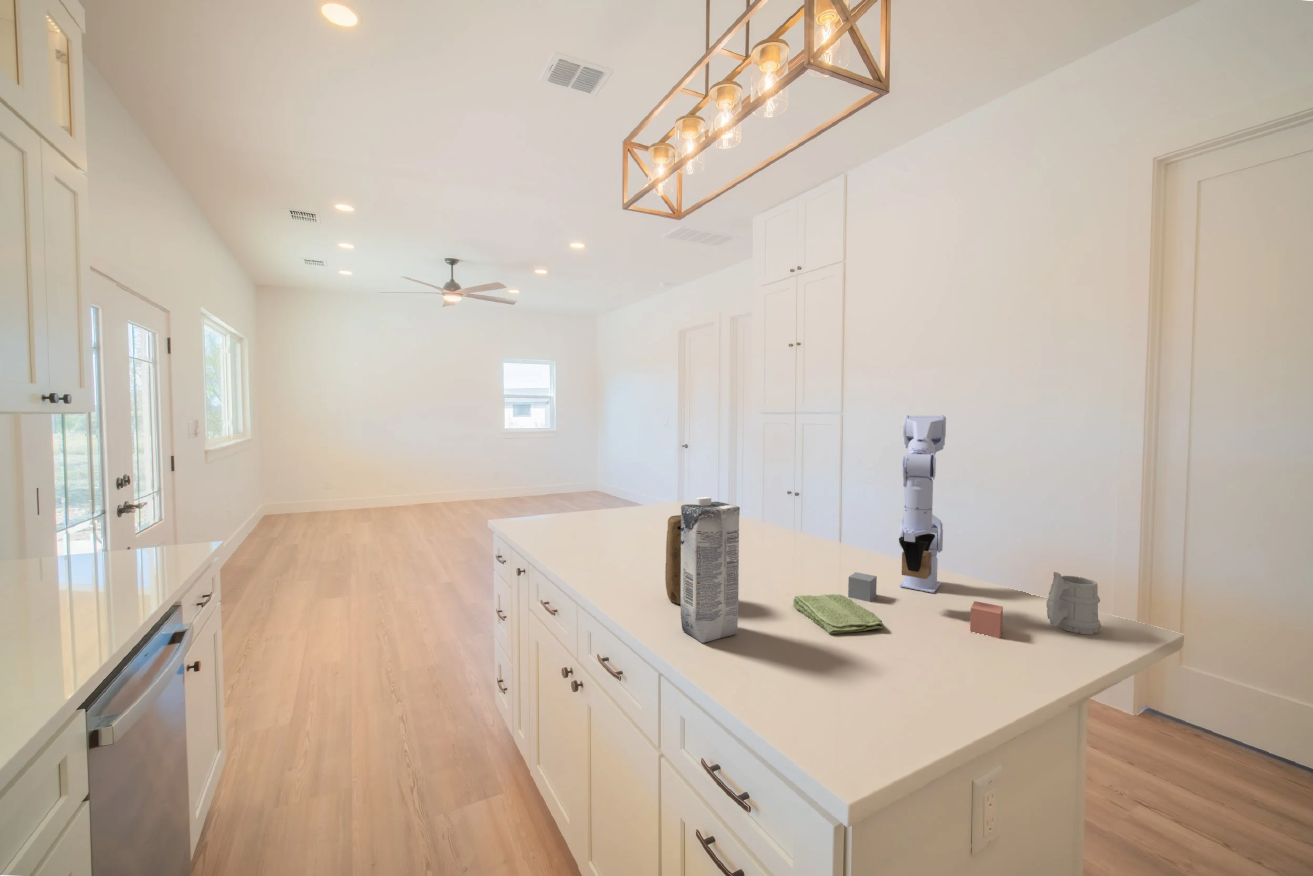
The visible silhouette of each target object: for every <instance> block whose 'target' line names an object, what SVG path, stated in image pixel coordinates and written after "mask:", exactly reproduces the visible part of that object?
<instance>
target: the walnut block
mask: <svg viewBox="0 0 1313 876" xmlns="http://www.w3.org/2000/svg"><path fill="white" fill-rule="evenodd" d="M931 563H932V552H929V551H924V552H923V555H922V560H921V566H920V569H919V572H915V571H910V570H908V568H907V563H906V558H905V554H904V551H902V552H901V576H904V575H905V576H911V577H917V578H922V579H927V578H928V577H929V576H930V575H931Z"/></svg>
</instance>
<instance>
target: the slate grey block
mask: <svg viewBox="0 0 1313 876" xmlns="http://www.w3.org/2000/svg"><path fill="white" fill-rule="evenodd" d="M877 579H878V578H877V575H872V574H868V573H862V572H856V571H855V572H853V573H852V574H851V575H849V576H848V583H847V584H848V588H847V589H848V591H847V593H848V594H847V595H848V596H847V598H848V599H854V600H859V601H863V602H868V603H869V602H872V601H873V600H874V599H875V598H876V597H877V584H878V583H877V582H878V581H877Z"/></svg>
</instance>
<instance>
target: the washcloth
mask: <svg viewBox="0 0 1313 876" xmlns="http://www.w3.org/2000/svg"><path fill="white" fill-rule="evenodd" d="M792 606H793V608H795V610H797V611H799V612H800V614H802V615H803V614H804V616H805V617H806V618H807V617H808V618H807V619H809V620H810V619H811V620H810V621H812V620H813V622H814V623H815V624H817V625H818V626H820V627H821V628H823V629H824V631H826V632H827V633H828V634H830V635H837V634H838V635H839V634H844V633H854V632H855V633H857V632H865V631H870V630H880V629H881V628H882V629H883V628H884V623H883V621H882V620H881V619H880V618H879V617H878V616H877V615H875V613H874V612H871V611H870V610H869V609H867V608H865V607H863V606H861V605H859V604H857V602H854V601H853V600H852V598H849V597H848V596H847V597H846V596H845V595H843V594H837V593H836V594H835V593H834V594H821V595H810V594H809V595H808V594H807V595H795V596H794V598H793V604H792ZM882 629H881V630H882Z"/></svg>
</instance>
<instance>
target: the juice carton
mask: <svg viewBox="0 0 1313 876" xmlns="http://www.w3.org/2000/svg"><path fill="white" fill-rule="evenodd" d="M740 509H741V508H740V506H737V505H733V504H729V503H725V502H721V501H712V497H709V496H705V497H704V496H703V497H697V498H696V504H682V505H681V506H680V510H681V511H680V515H681V604H680V621H681V622H680V623H681V628H682V631H683V632H684V633H686V634H688V635H689V636H691V637H692V638H694V639H695V640H696V641H698V642H700V643H701V644H702V643H708V642H712V641H715V640H718V639H722V638H728V637H730V636H734V635H737V632H738V625H739V622H738V621H739V583H740V582H739V575H740V574H739V571H740V570H739V569H740V565H739V564H740V558H739V556H740V554H739V552H740Z"/></svg>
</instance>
